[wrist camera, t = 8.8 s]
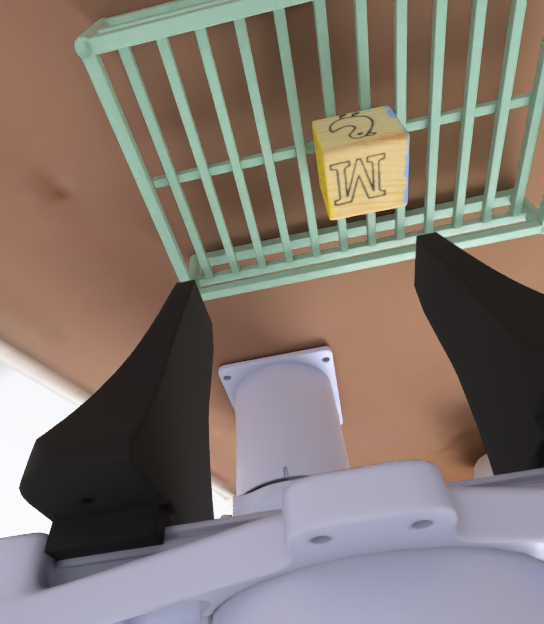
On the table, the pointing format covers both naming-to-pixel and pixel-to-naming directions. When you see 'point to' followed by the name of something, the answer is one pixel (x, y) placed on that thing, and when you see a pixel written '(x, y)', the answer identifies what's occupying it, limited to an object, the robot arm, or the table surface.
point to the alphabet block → (362, 162)
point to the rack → (244, 3)
